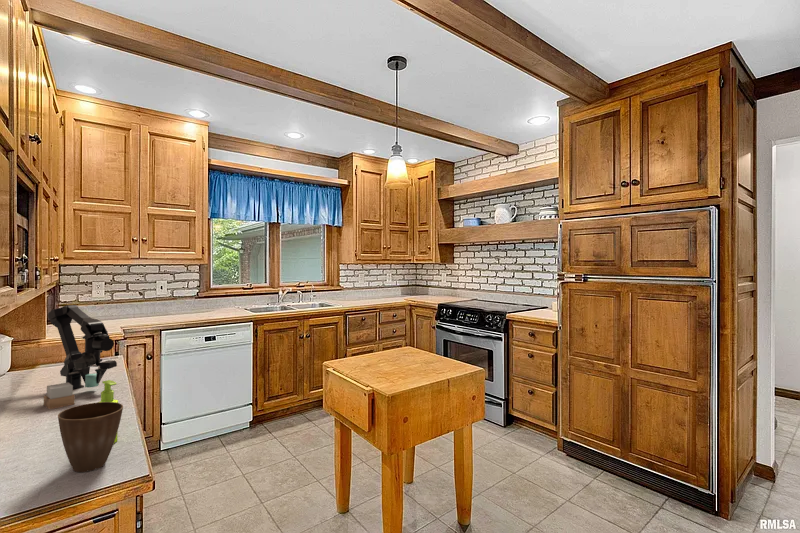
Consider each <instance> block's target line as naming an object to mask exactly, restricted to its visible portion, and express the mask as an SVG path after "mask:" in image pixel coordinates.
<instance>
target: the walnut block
mask: <svg viewBox="0 0 800 533" xmlns="http://www.w3.org/2000/svg"><path fill="white" fill-rule="evenodd" d="M75 396H76V395H75V394H73V395H71V396H66V397H60V398H55V399H50V398H49V397H48V396H47V395H43V406H44V407H46V408H47V409H49V410H54V409H58V408H61V407H68V406H72V405H75Z"/></svg>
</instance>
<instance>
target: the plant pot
mask: <svg viewBox="0 0 800 533" xmlns="http://www.w3.org/2000/svg"><path fill="white" fill-rule="evenodd" d="M123 409H124V405H123V404H122V403H120V402H118V403H116V402H100V401H98V402H92V403H84V404H80V405H76V406H72V407H69V408H66V409H64V410H63V411H60V412H59V413H58V414H57V418H58V426H59V432H60V436H61V441H62V444H63V447H64V452H65V454H66V456H67V460H68V462H69V463H70V466H71V468H72V470H73V471H74V472H77V473H87V472H91V471H95V470H99V469H100V468H102V467H103V465H104V466H105V465H106V463H107V461H108V459H109V457H110V454H111V451H112V449H113V446H114V444H115V443H114V441H115V438H116V435H117V431H119V427H120V423H121V420H122V419H121V418H122V414H123ZM117 436H118V435H117Z"/></svg>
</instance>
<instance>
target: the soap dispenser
mask: <svg viewBox="0 0 800 533" xmlns="http://www.w3.org/2000/svg"><path fill="white" fill-rule="evenodd" d="M102 384H104V386H103V390H102V391H100V401H99V402H116V403H119V400H118V399H114V398H115V397H114V396H115V393H114V392H115V391H114V390H113V389H112V387H111V386H116V385H118V384H117V382H116V381H114V380H110V379H108V380H103V381H102ZM118 431H119V430H118ZM118 431H117V435H116V438H115V441H114V444H116V443H117V442H118V436H119V435H118ZM115 442H116V443H115Z"/></svg>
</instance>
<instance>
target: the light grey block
mask: <svg viewBox="0 0 800 533" xmlns="http://www.w3.org/2000/svg"><path fill="white" fill-rule="evenodd" d="M73 393H74V389H73V385H71V384H70V383H68V382H67V383H66V382H62V383H56V384H50V385H46V396H48V397H49V398H50V399H55V398H60V397H66V396H71V395H74V394H73Z"/></svg>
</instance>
